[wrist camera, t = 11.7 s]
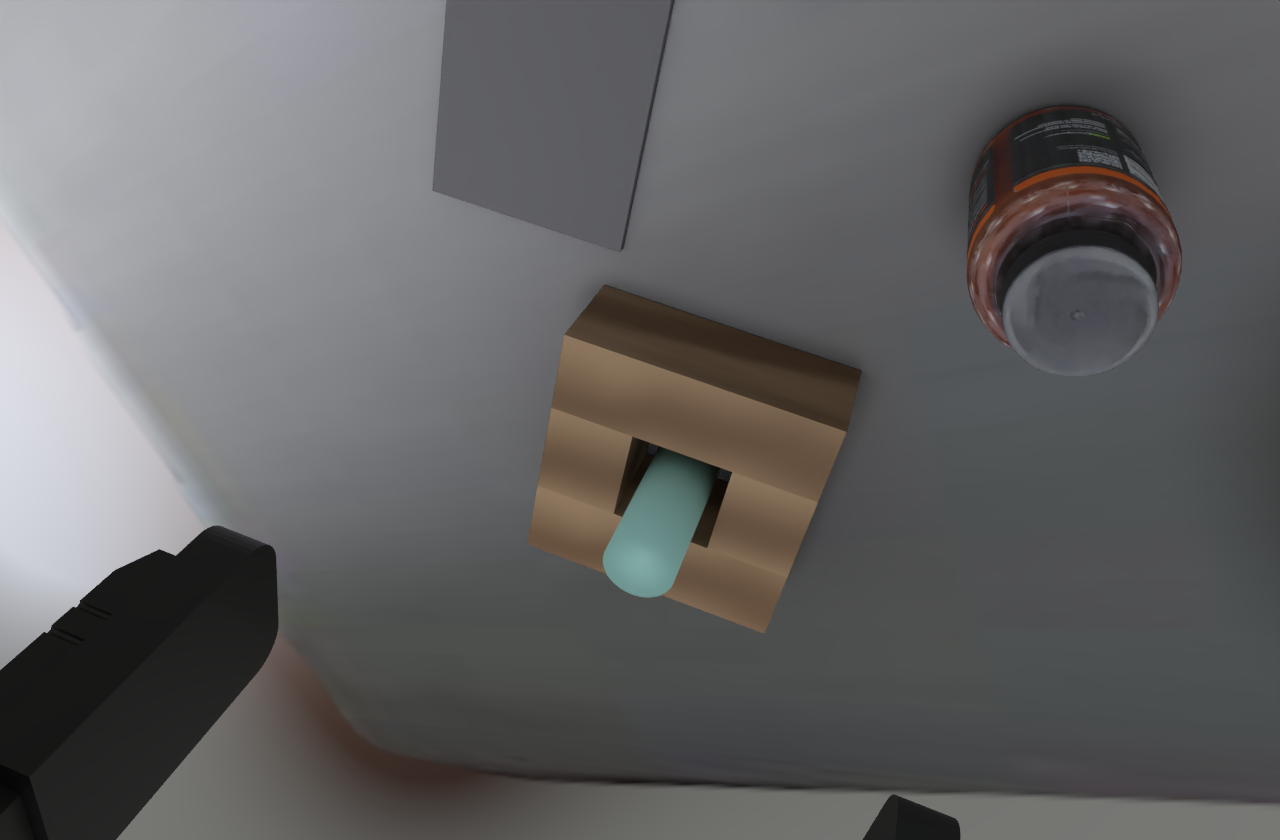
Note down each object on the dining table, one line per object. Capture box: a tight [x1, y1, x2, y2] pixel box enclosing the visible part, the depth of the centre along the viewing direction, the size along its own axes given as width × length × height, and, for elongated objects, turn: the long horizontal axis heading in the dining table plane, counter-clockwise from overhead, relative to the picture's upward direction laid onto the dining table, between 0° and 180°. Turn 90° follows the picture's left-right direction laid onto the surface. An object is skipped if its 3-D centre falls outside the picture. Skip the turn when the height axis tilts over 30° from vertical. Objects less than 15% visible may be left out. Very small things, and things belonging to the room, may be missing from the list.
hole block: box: [527, 285, 861, 633], centre depth 44 cm, size 12×12×5 cm
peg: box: [603, 446, 721, 597], centre depth 42 cm, size 3×3×10 cm
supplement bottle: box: [967, 106, 1182, 377], centre depth 31 cm, size 6×6×11 cm
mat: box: [433, 0, 674, 252], centre depth 39 cm, size 12×9×1 cm
